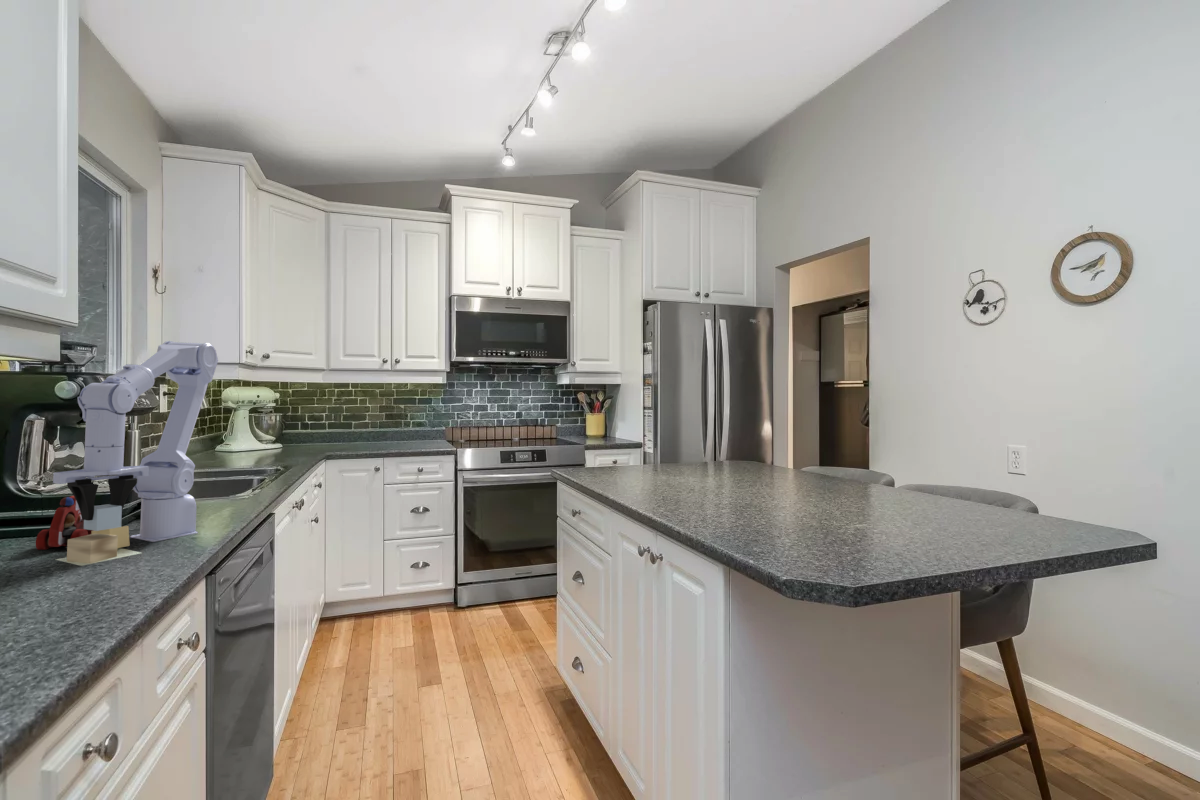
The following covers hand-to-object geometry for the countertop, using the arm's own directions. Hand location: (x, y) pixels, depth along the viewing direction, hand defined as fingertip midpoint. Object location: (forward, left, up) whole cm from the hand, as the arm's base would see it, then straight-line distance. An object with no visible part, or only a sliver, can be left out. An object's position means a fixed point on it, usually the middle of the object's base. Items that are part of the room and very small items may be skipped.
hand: (101, 517), depth 110 cm
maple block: (+2, +1, -7) cm, 8 cm away
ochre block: (-4, -4, -7) cm, 9 cm away
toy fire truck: (-2, -14, -8) cm, 16 cm away
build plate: (0, 0, -8) cm, 8 cm away
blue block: (0, 0, -2) cm, 2 cm away
